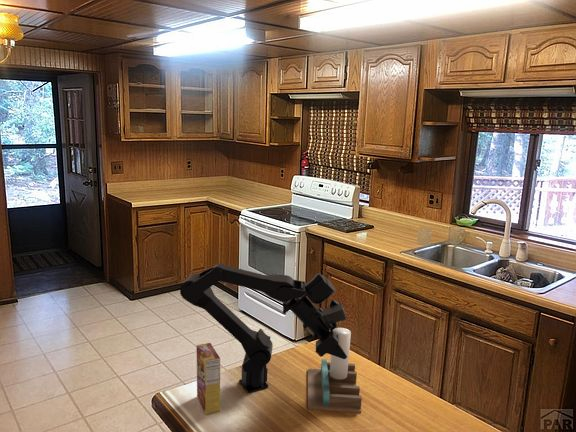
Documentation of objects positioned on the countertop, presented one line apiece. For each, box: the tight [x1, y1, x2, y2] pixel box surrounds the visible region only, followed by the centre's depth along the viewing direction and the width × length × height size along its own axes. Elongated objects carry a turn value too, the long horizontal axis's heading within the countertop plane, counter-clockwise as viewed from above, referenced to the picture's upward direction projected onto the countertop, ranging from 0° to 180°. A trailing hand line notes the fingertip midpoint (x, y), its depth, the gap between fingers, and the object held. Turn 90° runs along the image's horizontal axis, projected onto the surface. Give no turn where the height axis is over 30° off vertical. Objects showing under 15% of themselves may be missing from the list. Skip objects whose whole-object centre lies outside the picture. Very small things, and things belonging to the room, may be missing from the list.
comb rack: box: [307, 358, 363, 414], centre depth 132 cm, size 20×14×5 cm
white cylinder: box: [329, 327, 352, 379], centre depth 130 cm, size 5×5×13 cm
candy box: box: [196, 342, 221, 415], centre depth 122 cm, size 9×4×15 cm, turn 25°
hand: (345, 353), depth 130 cm, fingers closed on white cylinder, 5 cm apart
